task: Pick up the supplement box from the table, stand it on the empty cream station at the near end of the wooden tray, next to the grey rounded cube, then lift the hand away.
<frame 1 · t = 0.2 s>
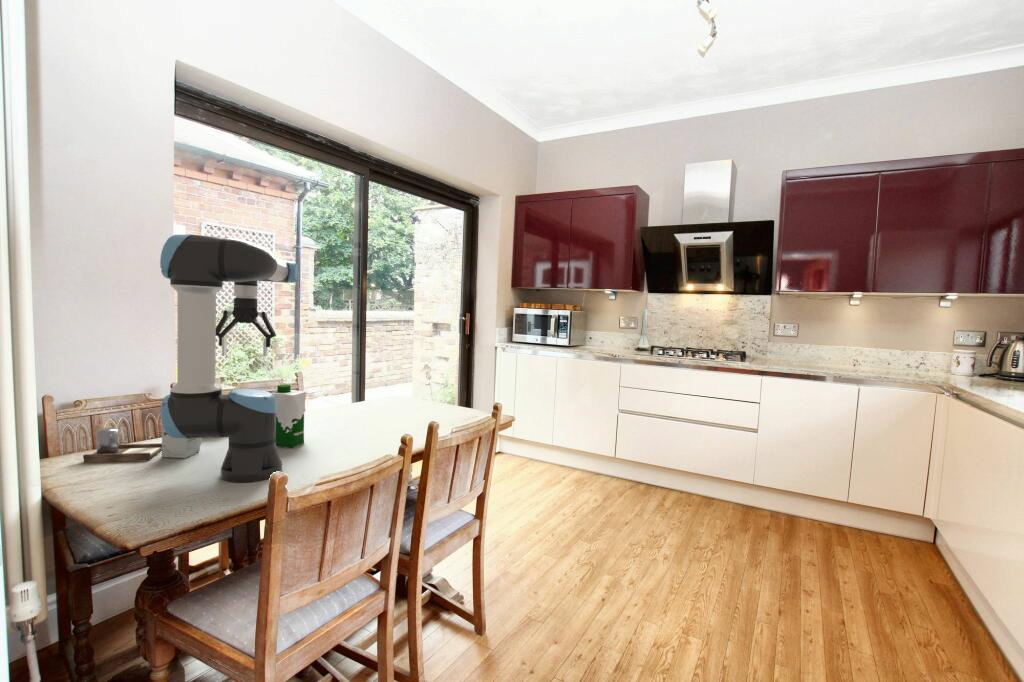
hand: (244, 355, 177), 28 cm above the table, tool pointing down, fingers open, 13 cm apart
supplement box: (181, 455, 148), on the table
grey rounded cube: (107, 456, 143), resting on wooden tray
milk carton: (288, 445, 164), on the table
wooden tray: (125, 456, 144), on the table
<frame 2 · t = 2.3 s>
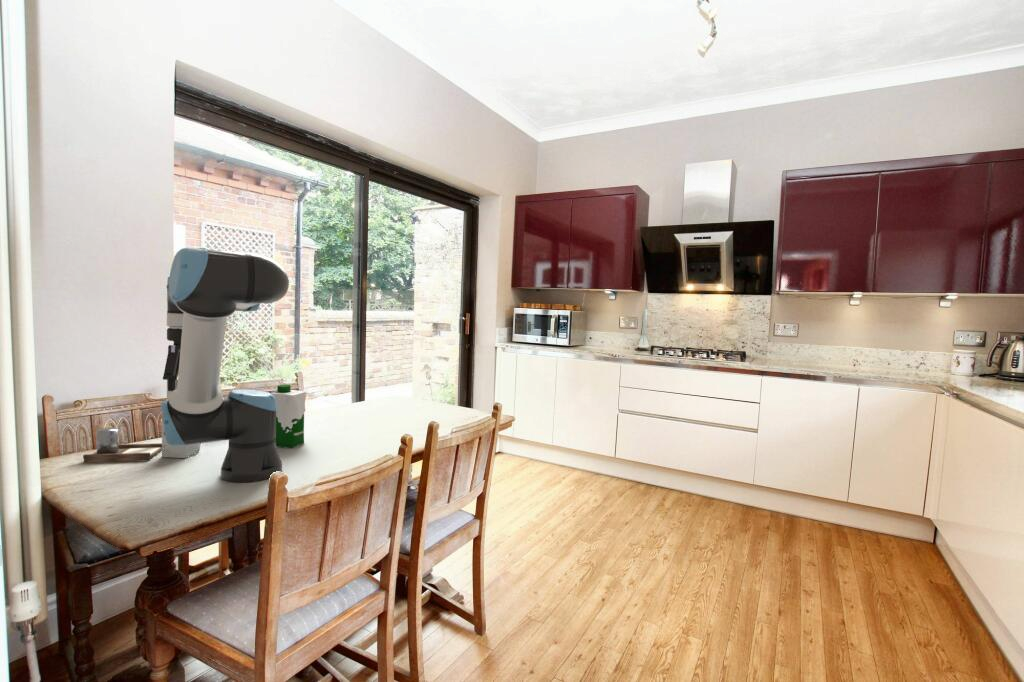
hand: (181, 397, 147), 18 cm above the table, tool pointing down, fingers open, 13 cm apart
nothing on the table moved.
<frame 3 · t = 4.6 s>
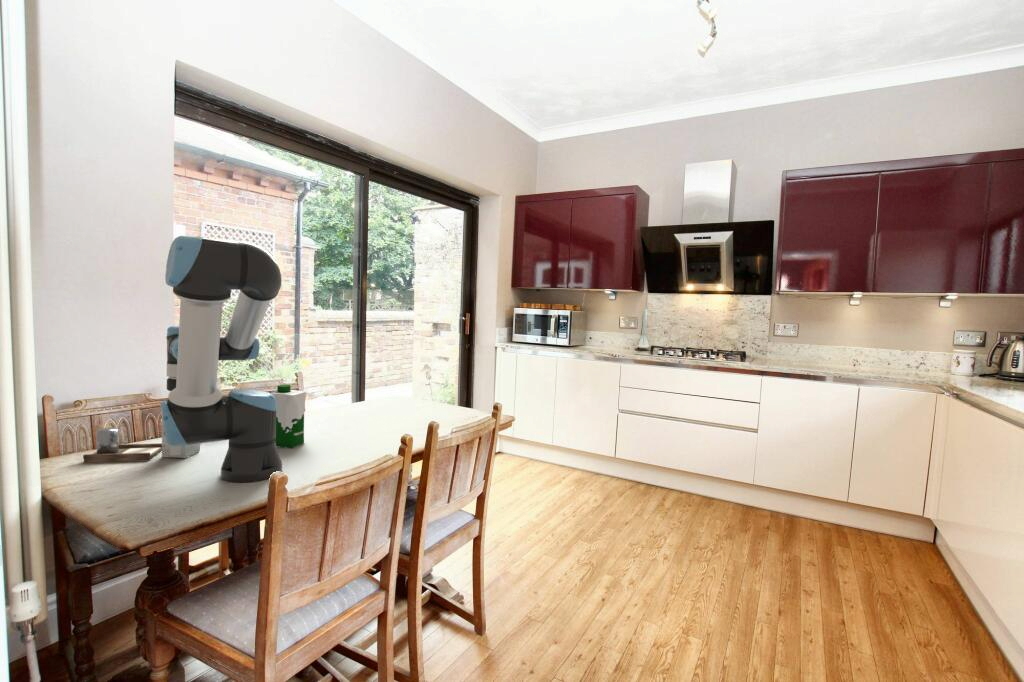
hand: (181, 450, 148), 1 cm above the table, tool pointing down, fingers closed on supplement box, 8 cm apart
supplement box: (181, 455, 148), on the table, touching gripper
everything else where it was.
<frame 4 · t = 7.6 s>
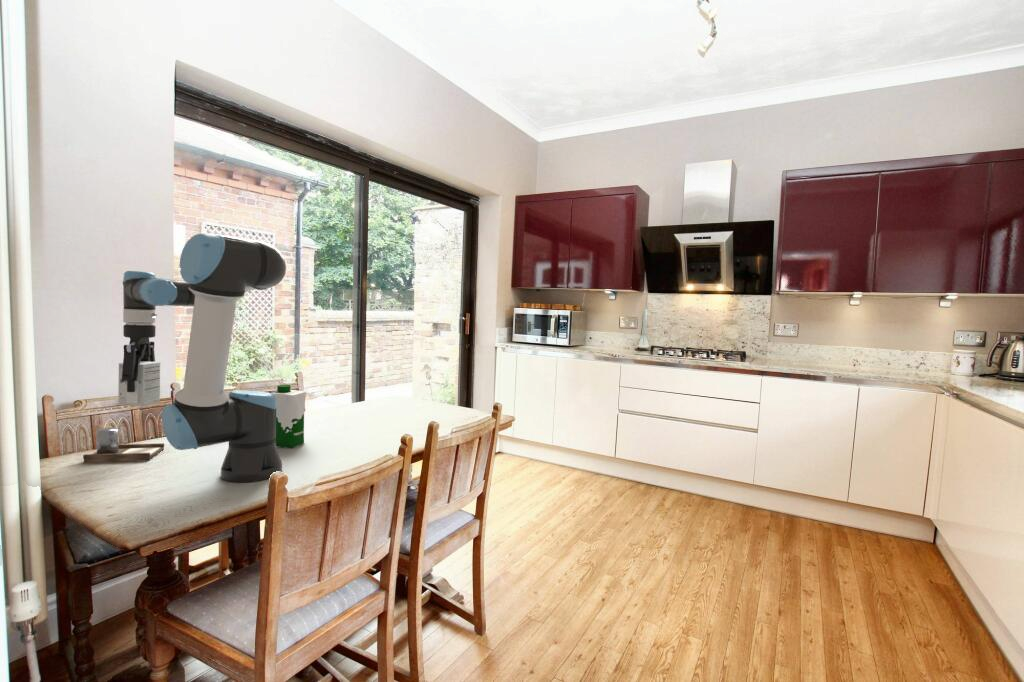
hand: (139, 399, 144), 17 cm above the table, tool pointing down, fingers closed on supplement box, 8 cm apart
supplement box: (139, 404, 144), point 16 cm above the table, touching gripper
everything else where it was.
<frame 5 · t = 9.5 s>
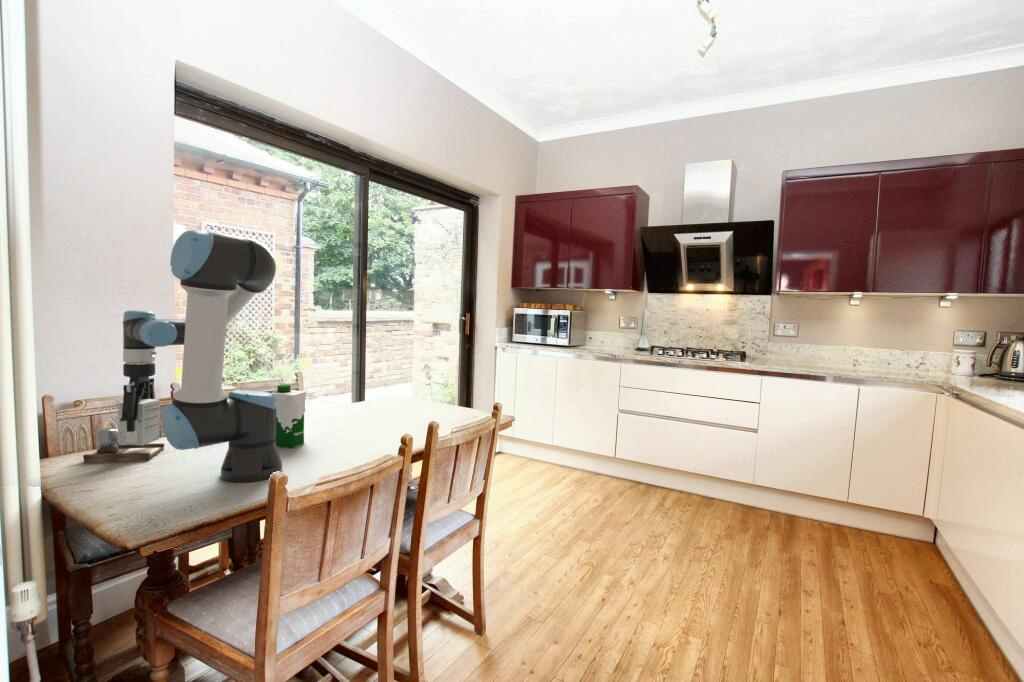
hand: (139, 437, 145), 6 cm above the table, tool pointing down, fingers closed on supplement box, 8 cm apart
supplement box: (139, 442, 145), point 4 cm above the table, touching gripper
everything else where it was.
when the fingers open (4 cm above the table, at t = 10.8 s): supplement box drops 1 cm, resting on wooden tray.
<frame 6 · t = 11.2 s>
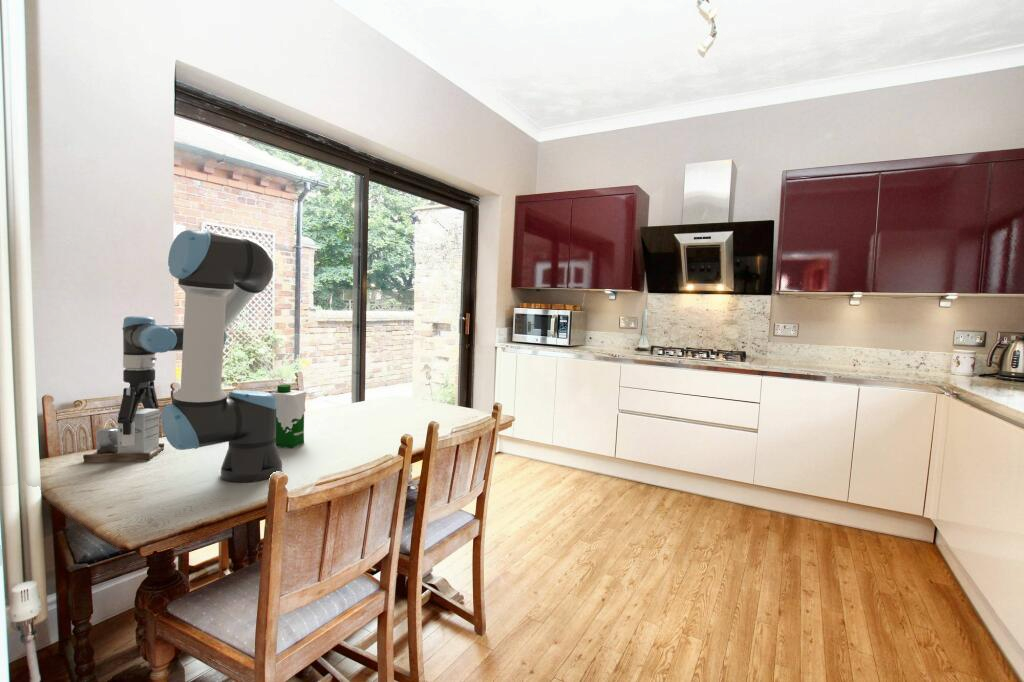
hand: (139, 438, 145), 5 cm above the table, tool pointing down, fingers open, 13 cm apart
supplement box: (139, 452, 145), point 1 cm above the table, touching wooden tray
everything else where it was.
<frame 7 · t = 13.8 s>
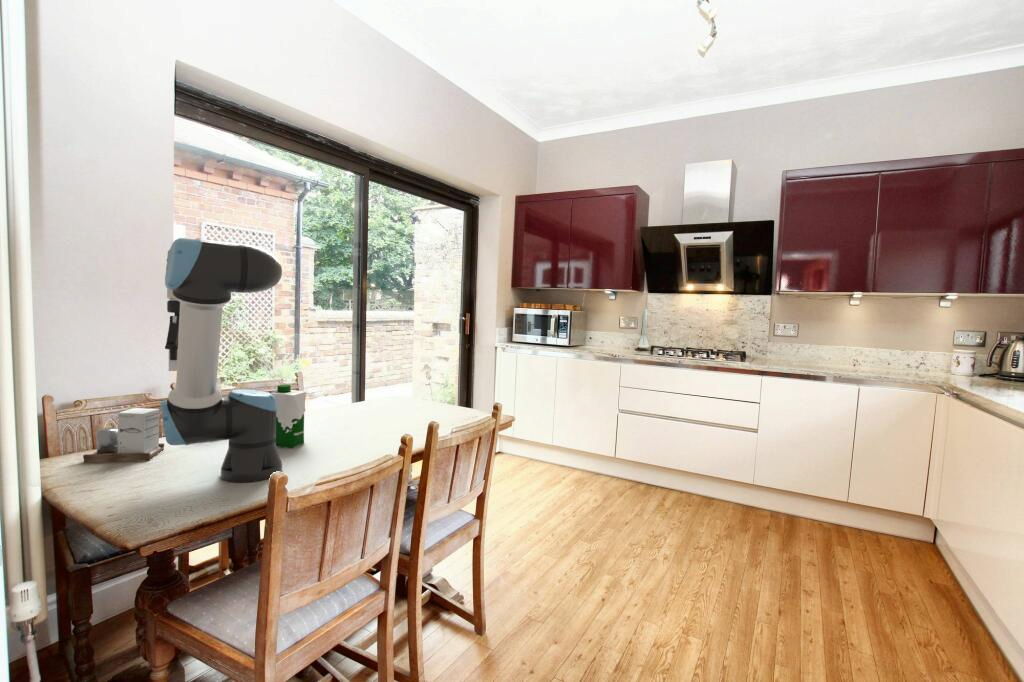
hand: (181, 368, 151), 26 cm above the table, tool pointing down, fingers open, 13 cm apart
nothing on the table moved.
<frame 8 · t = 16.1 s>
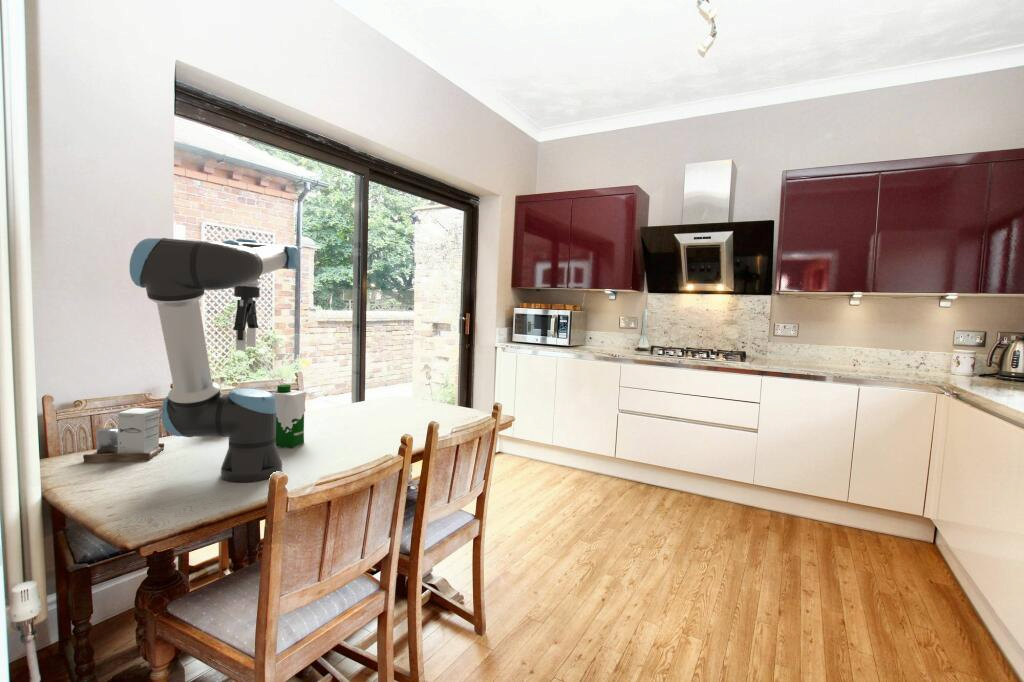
hand: (246, 348, 164), 32 cm above the table, tool pointing down, fingers open, 13 cm apart
nothing on the table moved.
at the end: supplement box 0.3 cm from the target spot on the wooden tray, point 1.1 cm above the wooden tray's base; supplement box tilted 0°; the gripper is holding nothing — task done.
